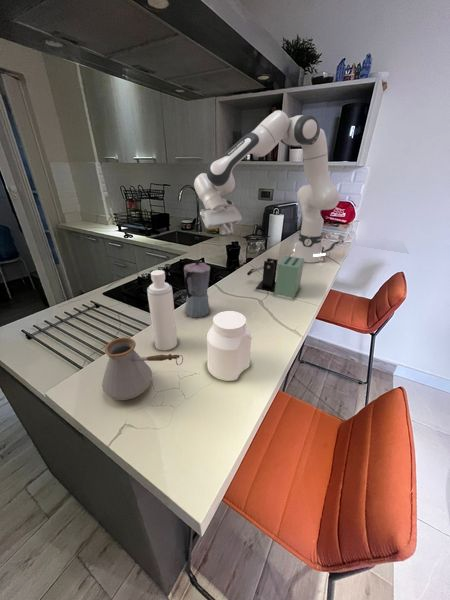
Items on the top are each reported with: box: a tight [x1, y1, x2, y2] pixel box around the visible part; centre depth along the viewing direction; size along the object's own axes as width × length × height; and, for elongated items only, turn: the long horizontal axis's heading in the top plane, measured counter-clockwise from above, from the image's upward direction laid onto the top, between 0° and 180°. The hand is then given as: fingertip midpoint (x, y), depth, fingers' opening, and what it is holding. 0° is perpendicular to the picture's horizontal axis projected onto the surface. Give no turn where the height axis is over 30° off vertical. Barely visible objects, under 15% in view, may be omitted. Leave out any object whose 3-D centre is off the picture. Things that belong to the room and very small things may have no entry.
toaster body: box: [274, 255, 305, 299], centre depth 107 cm, size 8×12×14 cm, turn 154°
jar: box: [206, 310, 253, 382], centre depth 67 cm, size 12×10×15 cm
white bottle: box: [146, 269, 178, 351], centre depth 72 cm, size 7×7×25 cm
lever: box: [246, 261, 274, 276], centre depth 111 cm, size 12×5×2 cm, turn 64°
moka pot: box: [183, 259, 211, 318], centre depth 90 cm, size 10×15×20 cm, turn 164°
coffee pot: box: [101, 337, 184, 401], centre depth 58 cm, size 21×12×15 cm, turn 69°
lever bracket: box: [255, 257, 279, 294], centre depth 110 cm, size 8×10×13 cm
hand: (230, 233), depth 115 cm, fingers closed
